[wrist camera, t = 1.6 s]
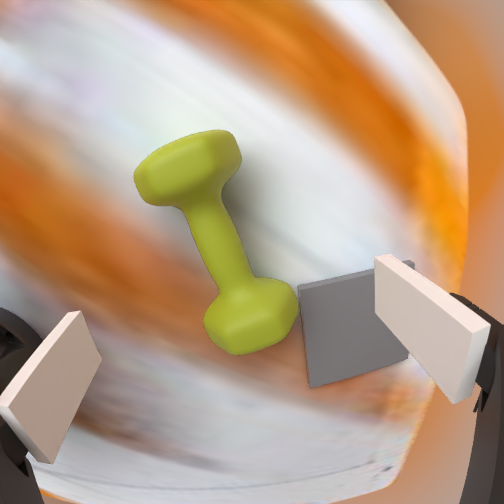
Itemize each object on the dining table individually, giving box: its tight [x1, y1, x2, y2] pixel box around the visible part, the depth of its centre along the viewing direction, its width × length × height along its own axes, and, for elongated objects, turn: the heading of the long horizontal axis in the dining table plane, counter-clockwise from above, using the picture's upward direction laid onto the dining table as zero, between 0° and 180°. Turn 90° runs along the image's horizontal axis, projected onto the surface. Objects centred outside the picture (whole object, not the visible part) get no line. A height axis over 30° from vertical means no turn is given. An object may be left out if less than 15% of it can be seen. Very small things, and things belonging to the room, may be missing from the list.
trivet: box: [298, 260, 414, 388], centre depth 30 cm, size 12×12×1 cm
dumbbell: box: [134, 130, 299, 355], centre depth 23 cm, size 16×8×7 cm, turn 21°
